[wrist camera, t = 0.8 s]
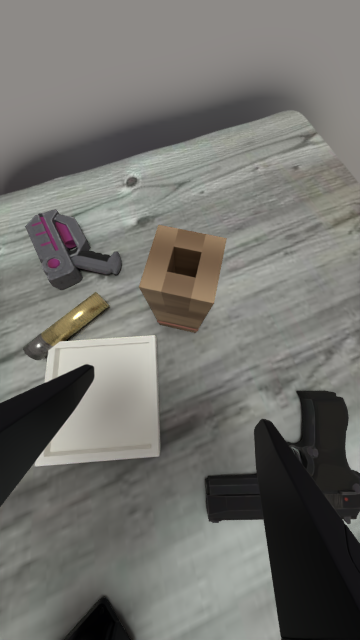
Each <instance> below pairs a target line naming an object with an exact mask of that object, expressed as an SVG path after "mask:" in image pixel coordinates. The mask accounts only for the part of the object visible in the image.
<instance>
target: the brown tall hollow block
mask: <svg viewBox="0 0 360 640" xmlns="http://www.w3.org/2000/svg"><path fill="white" fill-rule="evenodd" d="M226 239H227V238H222V237H217V236H212V235H207V234H202V233H197V232H192V231H187V230H182V229H177V228H172V227H167V226H162V225H158V228H157V231H156V234H155V237H154V241H153V244H152V247H151V250H150V253H149V257H148V260H147V263H146V266H145V269H144V272H143V276H142V279H141V282H140V285H139V288H140V290H141V291H142V293H143V295H144V297H145V299H146V301H147V302H148V304H149V306H150V308H151V310H152V311H153V313H154V315H155V317H156V319H157V322H159V324H160V325H164V326H168V327H172V328H177V329H181V330H185V331H190V332H194V333H196V332H197V331H198V329H199V327H200V325H201V324H202V322H203V320H204V319H205V317H206V315H207V314H208V312H209V310H210V309H211V307H212V306H213V304H214V300H215V295H216V290H217V285H218V280H219V274H220V269H221V264H222V259H223V254H224V249H225V244H226Z"/></svg>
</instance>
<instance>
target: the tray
mask: <svg viewBox="0 0 360 640" xmlns="http://www.w3.org/2000/svg"><path fill="white" fill-rule="evenodd" d="M85 364H89V365H92V366H94V374H95V377H94V380H93V382H92V384H91V385H90V387H89V388H88V390H87V392H86V393H85V395H84V396H83V398H82V400H81V401H80V403H79V404H78V406H77V407H76V409H75V410H74V412H73V413H72V414H71V415H70V417H69V418H68V419H67V421H66V422H65V423H64V425H63V426H62V427H61V428H60V430H59V431H58V432H57V434H56V435H55V436H54V438H53V439H52V440H51V442H50V443H49V444H48V445H47V447H46V448H45V449H44V451H43V452H42V453H41V455H40V456H39V457H38V458H37V460H36V462H35V466H46V465H59V464H71V463H83V462H96V461H108V460H121V459H133V458H145V457H158V456H159V454H160V449H161V447H160V419H159V390H158V361H157V337H156V336H155V335H151V336H135V337H120V338H105V339H90V340H75V341H60V342H58V343H57V344H56V345H55V346H53V347H52V348H51V349H50V350H48V358H47V366H46V375H45V382H48V381H50V380H52V379H54V378H56V377H59V376H61V375H63V374H65V373H67V372H69V371H72V370H74V369H76V368H78V367H80V366H83V365H85Z"/></svg>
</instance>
